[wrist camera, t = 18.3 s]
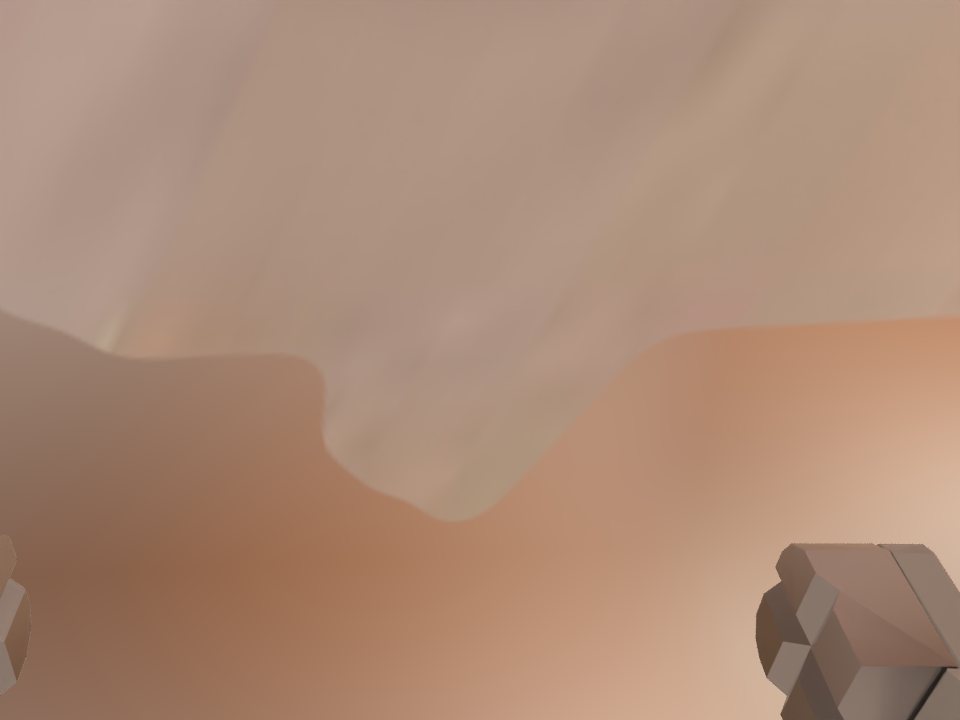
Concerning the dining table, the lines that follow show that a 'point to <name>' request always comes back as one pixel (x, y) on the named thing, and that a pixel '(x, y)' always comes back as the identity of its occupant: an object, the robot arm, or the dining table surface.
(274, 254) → the dining table surface
